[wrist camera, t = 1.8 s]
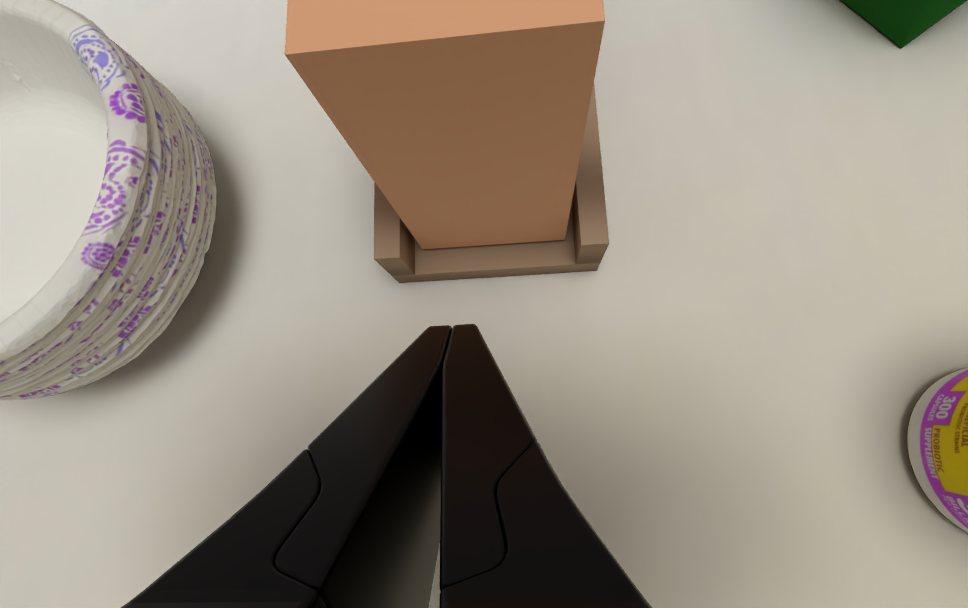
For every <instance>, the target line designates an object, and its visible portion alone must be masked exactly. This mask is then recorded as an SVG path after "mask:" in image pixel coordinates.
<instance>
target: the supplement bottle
mask: <svg viewBox="0 0 968 608" xmlns="http://www.w3.org/2000/svg"><path fill="white" fill-rule="evenodd" d="M907 440H908V452H909V458H910V462H911V465H912V468H913V471H914V473H915V476H916V478H917V480H918V482H919V484H920V486H921V488H922V489H923V491H924V492H925V494H926V495H927V497H928V498H929V499H930V501H931V502H932V503H933V504H934V505H935V506H936V508H937V509H938V510H939V511H940V512H941V513H942V514H943V515H944V516H945V517H947V518H948V519H949V520H950V521H952V522H953V523H954V524H955V525H957V526H958V527H960V528H961V529H963V530H964V531H966V532H967V533H968V368H964V369H961V370H958V371H956V372H953V373H951V374H949V375H947V376H945V377H943V378H941V379H940V380H938V381H937V382H935V383H934V384H933V385H932V386H930V387H929V388H928V389H927V390H926V392H925V393H924V394H923V395H922V396H921V398H920V399H919V401H918V402H917V404H916V406H915V407H914V410H913V412H912V415H911V417H910V421H909V426H908V434H907Z"/></svg>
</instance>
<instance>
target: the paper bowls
mask: <svg viewBox="0 0 968 608" xmlns="http://www.w3.org/2000/svg"><path fill="white" fill-rule="evenodd" d="M216 193H217V188H216V184H215V173H214V168H213V162H212V159H211V157H210V153H209V149H208V146H207V144H206V143H205V138H204V137H203V135H202V134H201V133H200V131H199V127H198V126H197V124H196V123H195V121H194V120H193V118H192V116H191V115H190V113H189V112H188V111H187V109H186V108H185V107H184V106H183V105H182V104H181V103H180V102H179V101H178V99H177V98H176V97H175V96H174V95H173V94H172V93H171V92H170V91H169V90H168V89H167V88H166V87H165V86H164V85H163V84H161V83H160V82H158V81H157V80H156V79H155V78H154V77H153V76H152V75H151V74H150V73H148V72H147V70H145V69H144V68H143V67H142V66H141V65H140V64H139V63H138V62H137V61H136V60H135V59H134V58H132V57H131V56H130V55H129V54H128V53H127V52H126V51H124V50H123V49H122V48H121V47H119V46H118V45H117V44H116V43H115V42H113V41H112V40H110V39H109V38H108V36H107V35H106V34H105V33H104V32H103V31H102V30H101V29H100V28H99V27H98V26H97V25H96V24H95V23H94V22H92V21H91V20H89V19H87V18H86V17H85V16H83V15H82V14H80V13H77V12H75V11H74V10H72V9H70V8H68V7H66V6H64V5H62V4H59V3H57V2H55V1H53V0H0V400H14V399H32V398H41V397H45V396H52V395H56V394H60V393H64V392H66V391H69V390H73V389H77V388H80V387H82V386H85V385H87V384H89V383H92V382H95V381H97V380H99V379H101V378H103V377H105V376H107V375H108V374H110V373H112V372H113V371H114V370H116V369H118V368H120V367H122V366H124V365H125V364H127V363H128V362H130V361H131V360H133V359H135V358H137V357H138V356H139V355H140V354H141V353H142V351H143V350H144V349H146V348H147V347H148V346H149V345H150V344H151V343H152V342H153V341H154V340H155V339H156V338H157V337H158V336H159V335H161V334H162V332H163V331H164V330H165V329H166V328H167V326H168V325H169V324H170V322H171V320H172V319H173V317H174V316H175V315H176V313H177V310H178V309H179V307H180V306H181V305H182V303H183V301H184V300H185V298H186V297H187V295H188V294H189V292H190V290H191V289H192V287H193V286H194V284H195V282H196V280H197V278H198V276H199V272H200V269H201V267H202V266H203V263H204V256H205V253H206V252H207V251H208V250H209V246H210V242H211V237H212V233H213V225H214V221H215V214H216V204H217V202H216Z"/></svg>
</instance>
